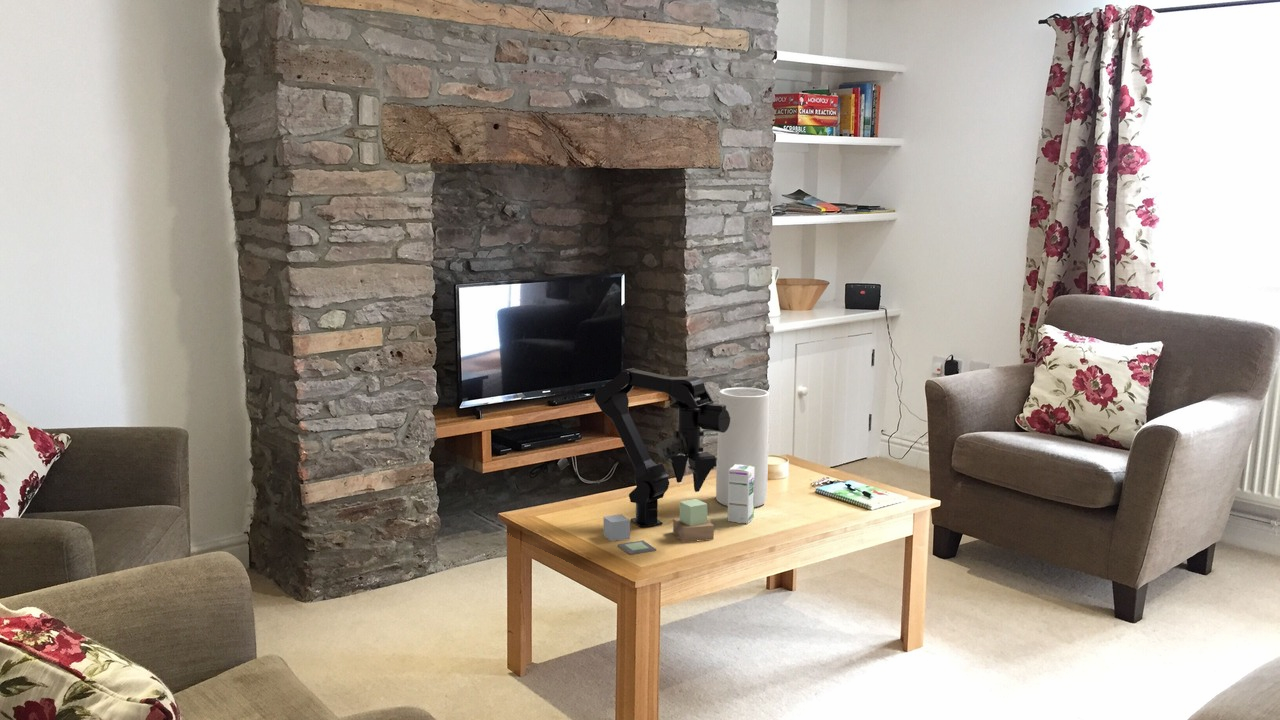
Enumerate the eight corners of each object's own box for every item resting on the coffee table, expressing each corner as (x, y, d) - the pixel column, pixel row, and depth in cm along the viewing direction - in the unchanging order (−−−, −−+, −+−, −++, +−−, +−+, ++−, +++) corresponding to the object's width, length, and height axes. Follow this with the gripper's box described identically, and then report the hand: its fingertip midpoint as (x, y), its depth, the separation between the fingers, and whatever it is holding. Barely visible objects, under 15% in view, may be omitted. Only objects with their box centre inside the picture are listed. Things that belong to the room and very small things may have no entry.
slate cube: (603, 535, 261) (603, 516, 260) (621, 533, 263) (621, 514, 262) (611, 541, 256) (611, 522, 255) (629, 539, 258) (630, 519, 258)
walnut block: (673, 533, 264) (673, 518, 263) (702, 530, 266) (702, 515, 266) (683, 543, 256) (683, 528, 256) (713, 540, 259) (713, 525, 258)
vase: (739, 491, 301) (742, 385, 296) (777, 502, 290) (781, 392, 285) (705, 500, 291) (707, 391, 286) (743, 512, 281) (746, 399, 276)
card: (617, 545, 253) (617, 543, 253) (643, 541, 256) (643, 539, 256) (630, 554, 247) (630, 552, 247) (656, 550, 250) (656, 548, 250)
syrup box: (748, 524, 271) (749, 471, 269) (726, 521, 273) (728, 468, 271) (753, 518, 276) (755, 465, 274) (732, 515, 278) (734, 463, 276)
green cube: (679, 520, 262) (679, 501, 261) (696, 517, 264) (696, 498, 263) (690, 526, 257) (690, 506, 256) (707, 523, 260) (707, 504, 259)
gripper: (643, 422, 264) (643, 481, 267) (678, 437, 248) (677, 500, 250) (682, 418, 269) (680, 476, 272) (718, 433, 253) (717, 495, 255)
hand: (687, 486), depth 262 cm, fingers open, 9 cm apart
